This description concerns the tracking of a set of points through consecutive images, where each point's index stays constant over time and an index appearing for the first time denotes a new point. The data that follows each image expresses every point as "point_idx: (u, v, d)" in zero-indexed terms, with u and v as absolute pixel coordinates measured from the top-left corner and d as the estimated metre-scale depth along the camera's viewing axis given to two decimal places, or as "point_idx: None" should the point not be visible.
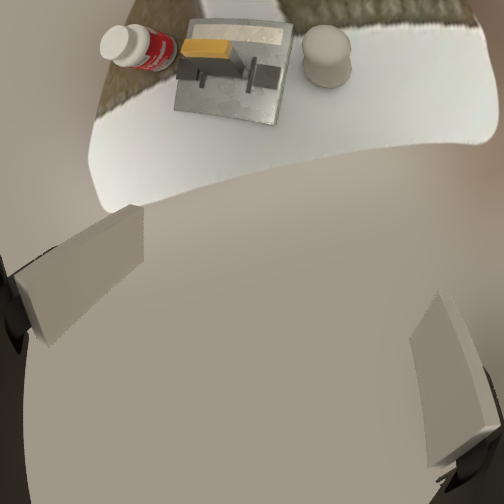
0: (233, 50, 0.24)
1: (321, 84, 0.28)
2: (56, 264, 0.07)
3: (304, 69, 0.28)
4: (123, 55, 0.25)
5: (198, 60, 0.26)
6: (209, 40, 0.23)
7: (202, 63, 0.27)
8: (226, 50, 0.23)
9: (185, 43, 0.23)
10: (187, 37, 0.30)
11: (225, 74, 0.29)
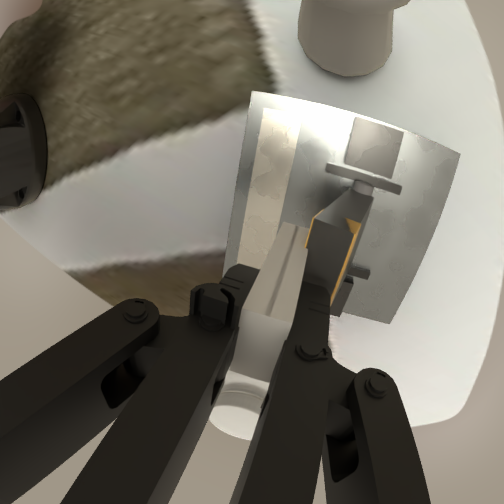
0: (332, 208, 0.12)
1: None
2: (278, 290, 0.08)
3: (360, 72, 0.13)
4: None
5: (337, 289, 0.14)
6: None
7: (342, 279, 0.14)
8: (345, 229, 0.10)
9: None
10: None
11: (363, 230, 0.16)
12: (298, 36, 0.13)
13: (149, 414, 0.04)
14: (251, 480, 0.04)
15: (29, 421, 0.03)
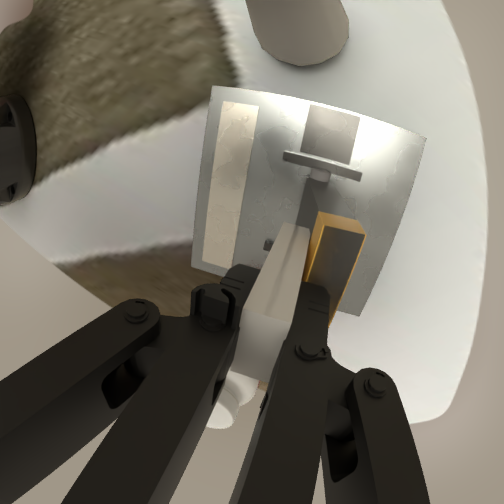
0: (323, 207, 0.12)
1: (346, 31, 0.12)
2: (279, 290, 0.08)
3: (314, 60, 0.13)
4: (232, 402, 0.17)
5: None
6: (312, 275, 0.11)
7: None
8: (355, 231, 0.10)
9: None
10: None
11: None
12: None
13: (150, 414, 0.04)
14: (250, 480, 0.04)
15: (29, 421, 0.03)
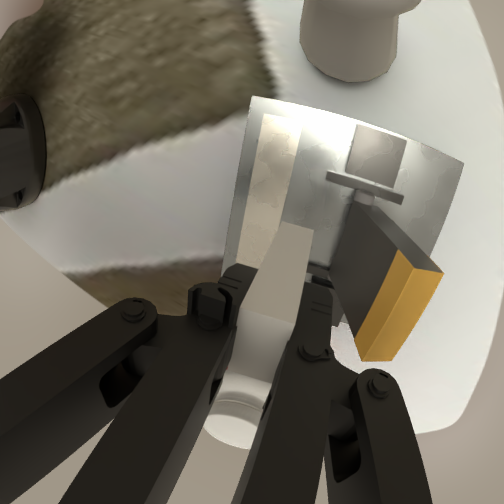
0: (396, 243, 0.11)
1: (396, 51, 0.11)
2: (276, 289, 0.08)
3: (363, 78, 0.13)
4: None
5: None
6: (394, 313, 0.10)
7: None
8: (436, 270, 0.09)
9: (374, 357, 0.11)
10: None
11: None
12: (300, 40, 0.13)
13: (147, 413, 0.04)
14: (253, 480, 0.04)
15: (28, 420, 0.03)
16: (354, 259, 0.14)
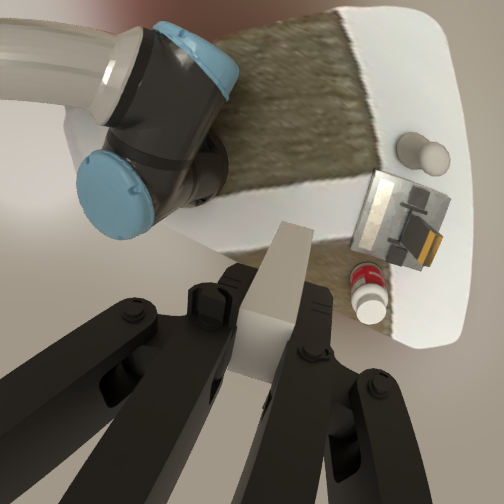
0: (429, 228, 0.35)
1: None
2: (276, 289, 0.08)
3: None
4: (385, 305, 0.40)
5: None
6: (430, 248, 0.34)
7: None
8: (441, 235, 0.33)
9: (425, 264, 0.36)
10: (367, 253, 0.46)
11: None
12: (398, 151, 0.37)
13: (147, 413, 0.04)
14: (253, 480, 0.04)
15: (28, 420, 0.03)
16: (413, 234, 0.38)
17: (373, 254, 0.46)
